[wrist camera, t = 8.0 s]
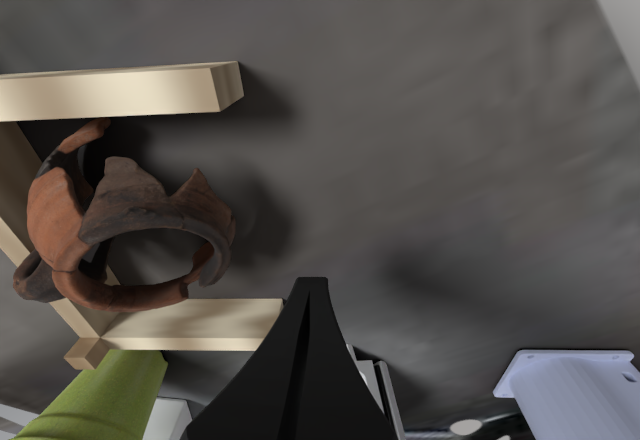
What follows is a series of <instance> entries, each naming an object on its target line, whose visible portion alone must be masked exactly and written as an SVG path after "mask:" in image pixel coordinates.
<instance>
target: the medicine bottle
mask: <svg viewBox="0 0 640 440" xmlns="http://www.w3.org/2000/svg"><path fill="white" fill-rule="evenodd" d="M191 421H192V417H191V414H190V411H189V408H188V405H187V402H186V400H182V399H172V398H162V397H157V398H156V400H155V403H154V406H153V409H152V412H151V415H150V418H149V421H148V424H147V427H146V430H145V433H144V436H143V439H142V440H179V439H180V437H181V435H182V434H183V432H184V430H185V428H186V426H187V425H188V424H189V423H190V422H191Z"/></svg>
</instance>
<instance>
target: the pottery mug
mask: <svg viewBox="0 0 640 440" xmlns="http://www.w3.org/2000/svg"><path fill="white" fill-rule="evenodd" d="M110 124H111V120H110V119H109V118H108V117H100V118H97V119H94V120H92V121H90V122H88V123H87V124H85V125H84V126H83V127H81V128H80V129H79V130H78V131H77V132H76V133H74V134H73V135H71V136H69V137H67V138H66V139H64V141H63V142H62V143H61V144H60V145H59V146H57V147H56V149H55V150H54V151H53V152H52V153H51V154H50V155H49V156H48V157H47V158H46V160H45V161H44V162H43V164H42V166H41V168H40V169H39V171H38V173H37V174H36V177H35V180H34V181H33V183H32V185H31V187H30V190H29V194H28V205H27V229H28V233H29V237H30V239H31V241H32V242H33V244H34V246H35V250H34V251H32V252H31V253H30V254H29V255H28V256H27V257H26V258H25V259H24V260H23V262H22V263H21V264H20V265H19V267H18V268H17V269H16V271H15V273H14V276H13V279H14V283H13V288H14V289H15V291H16V292H17V294H19V296H20V297H22V298H23V299H25V300H36V301H39V302H43V303H48V302H53V301H57V300H61V299H64V298H68V299H70V300H72V301H73V302H75V303H77V304H79V305H82V306H85V307H87V308H91V309H95V310H99V311H108V312H138V311H147V310H151V309H158V308H162V307H166V306H170V305H174V304H177V303H180V302H182V301H184V300H186V299H188V289H187V286H188V285H189V284H190V283H192V282H194V281H196V280H198V279H199V285H200V287H203V288H204V287H206V286H209V285H212V284H215V283H216V282H217V281H218V280H219V279H220V278H221V277H222V276H223V275H224V273H225V271H226V270H227V268H228V267H229V264H230V261H231V248H230V246H231V244H232V242H233V239H234V236H235V231H236V220H235V217H234V216H232V215H231V209H230V208H229V207H228V205H227V204H226V203H224V202H223V201H222V200H221V199H220V198H219V197H217V196H216V194H215V193H214V192H213V191H212V189H211V188H210V186H209V185H208V183H207V180H206V178H205V177H204V175H203V174H202V173H201V171H200V170H199V169H198V168H195V169H194V170H193V174H192V176H191V177H190V178H189V180H188V181H186V182H185V183H184V184H183V185H182V186H181V187H180V188H179V189H178V190H177V191H176V192H175V193H174V194H172V195H171V196H168V195H167V194H166V192H165V189H164V187H163V185H162V184H161V183H160V181H158V180H157V179H156V178H155V177H154V176H152V175H151V174H149V173H148V172H146V171H144V170H143V169H141V168H140V167H139V165H138V164H137V163H136V162H135V161H134V160H132V159H130V158H125V157H109V158H107V159H106V160H105V170H104V172H105V176H104V178H103V179H102V180H101V181H100V182H99V184H98V186H97V188H96V192H95V196H94V198H93V200H92V202H91V204H90V206H89V208H88V210H87V211H86V212H85V211H84V209H83V208H82V206H83V203H84V201H85V199H86V198H87V197H88V196H90V195H91V194H92V193H93V188H92V187H91V186H90V185H89V184H88V183H87V182H86V180H85V179H84V177H83V175H82V174H81V172H80V170H79V166H78V160H77V153H78V149H79V147H81V146H83V145H85V144H87V143H89V142H91V141H93V140H96V139H98V138H100V137H102V136H103V134H104V129H106V128H107V127H108V126H109V125H110ZM149 228H172V229H173V228H176V229H181V230H184V231H189V232H191V233H194V234H197V235H199V236H201V237H203V238H205V239H206V240H208V241H209V242H207V243H205V244H204V245H203V246H202V247H201V248H200V249H199V250H198V251H197V252H196V253H195V254H194V255H193V257H192V261H193V268H192V270H191V272H190V273H189V274H187V275H184V276H182V277H180V278H177V279H174V280H170V281H167V282H163V283H158V284H154V285H138V286H124V285H113V286H110V285H108V284H104V283H105V281H106V280H107V278H108V277H107V272H106V268H107V264H108V254H109V252H110V249H111V245H112V242H113V240H114V238H115V236H116V235H119V234H122V233H126V232H130V231H135V230H143V229H149Z"/></svg>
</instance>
